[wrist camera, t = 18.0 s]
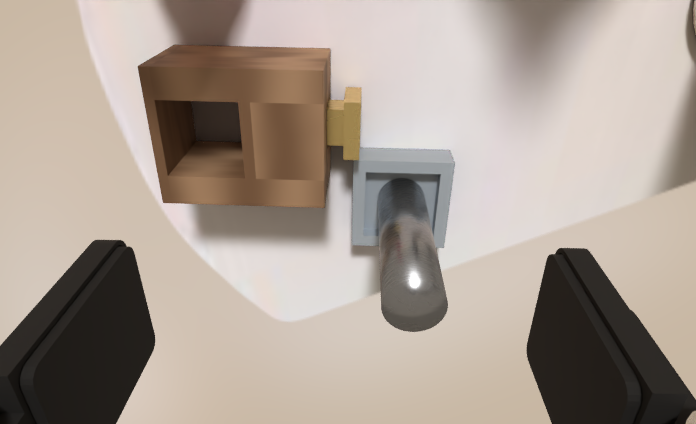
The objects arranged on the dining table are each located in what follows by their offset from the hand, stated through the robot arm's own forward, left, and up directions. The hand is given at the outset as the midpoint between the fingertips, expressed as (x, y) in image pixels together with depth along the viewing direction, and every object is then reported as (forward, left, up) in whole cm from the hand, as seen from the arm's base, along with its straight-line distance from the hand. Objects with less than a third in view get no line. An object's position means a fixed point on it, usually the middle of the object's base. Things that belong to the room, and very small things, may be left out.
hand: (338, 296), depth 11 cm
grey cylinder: (-4, +12, -29) cm, 32 cm away
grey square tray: (-4, +12, -30) cm, 33 cm away
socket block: (+8, +5, -30) cm, 32 cm away
